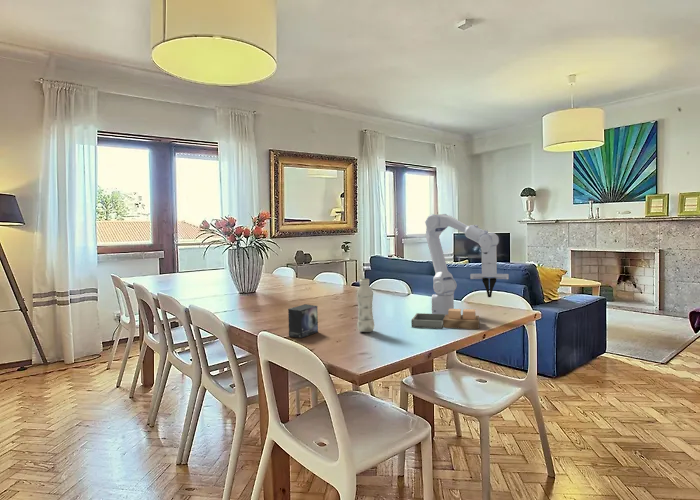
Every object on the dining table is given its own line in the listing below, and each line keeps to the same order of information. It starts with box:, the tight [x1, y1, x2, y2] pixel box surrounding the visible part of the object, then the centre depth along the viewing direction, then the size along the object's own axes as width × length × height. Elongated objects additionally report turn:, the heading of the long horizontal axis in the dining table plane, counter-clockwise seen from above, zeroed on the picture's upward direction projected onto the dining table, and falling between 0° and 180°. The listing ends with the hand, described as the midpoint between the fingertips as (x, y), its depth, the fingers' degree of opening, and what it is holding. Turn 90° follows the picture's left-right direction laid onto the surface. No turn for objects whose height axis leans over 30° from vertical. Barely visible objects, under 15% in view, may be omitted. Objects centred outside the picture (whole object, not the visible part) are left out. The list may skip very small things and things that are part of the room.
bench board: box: [442, 314, 480, 330], centre depth 170 cm, size 13×10×3 cm
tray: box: [411, 312, 445, 329], centre depth 174 cm, size 12×13×3 cm
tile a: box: [462, 308, 477, 319], centre depth 169 cm, size 4×4×3 cm
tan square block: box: [448, 308, 462, 319], centre depth 171 cm, size 4×4×3 cm
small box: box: [287, 303, 319, 339], centre depth 164 cm, size 11×6×10 cm, turn 148°
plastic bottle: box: [356, 278, 375, 333], centre depth 164 cm, size 6×7×20 cm
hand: (489, 296), depth 175 cm, fingers closed
